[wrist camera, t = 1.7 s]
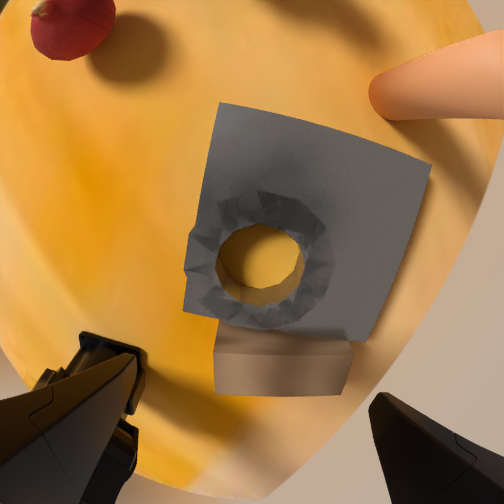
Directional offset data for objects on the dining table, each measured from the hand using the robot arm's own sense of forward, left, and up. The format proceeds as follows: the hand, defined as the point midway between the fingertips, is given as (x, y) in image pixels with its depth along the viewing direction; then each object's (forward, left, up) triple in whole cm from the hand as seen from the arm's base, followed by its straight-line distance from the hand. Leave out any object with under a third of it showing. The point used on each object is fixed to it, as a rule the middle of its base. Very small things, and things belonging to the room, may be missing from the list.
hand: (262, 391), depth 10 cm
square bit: (+3, -7, -13) cm, 16 cm away
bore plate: (+3, +3, -13) cm, 13 cm away
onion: (-15, +15, -13) cm, 25 cm away
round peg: (+7, +14, -13) cm, 20 cm away
